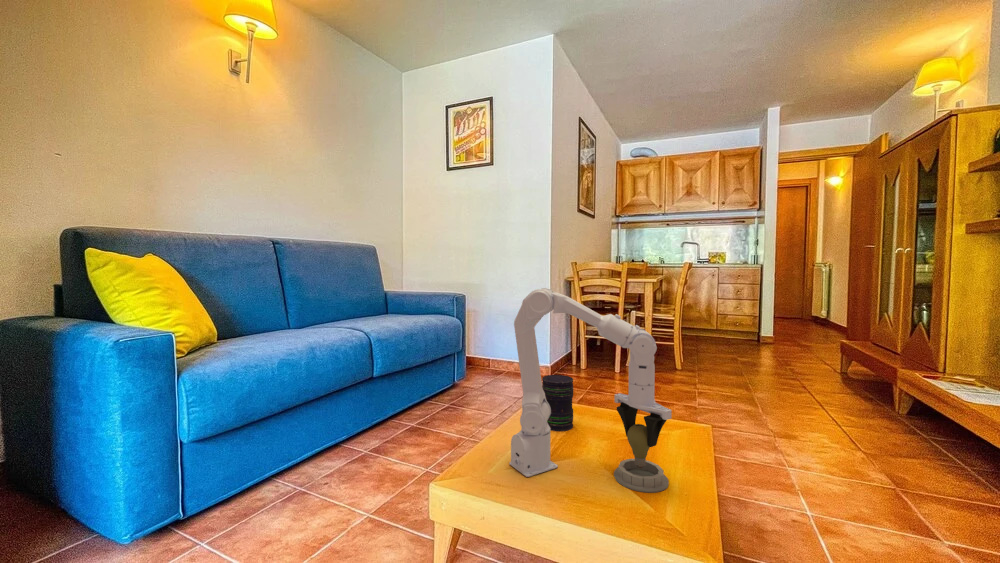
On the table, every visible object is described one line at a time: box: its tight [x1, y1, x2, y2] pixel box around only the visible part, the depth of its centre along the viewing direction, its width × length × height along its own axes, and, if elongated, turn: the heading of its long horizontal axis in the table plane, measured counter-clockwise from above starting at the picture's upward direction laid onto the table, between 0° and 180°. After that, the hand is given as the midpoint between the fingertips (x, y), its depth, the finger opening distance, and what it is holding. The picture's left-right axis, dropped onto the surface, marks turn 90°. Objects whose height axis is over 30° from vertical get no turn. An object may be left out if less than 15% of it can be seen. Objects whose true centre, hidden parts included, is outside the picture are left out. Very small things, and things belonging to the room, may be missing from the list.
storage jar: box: [541, 374, 574, 432], centre depth 126 cm, size 10×10×15 cm
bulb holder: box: [613, 458, 670, 494], centre depth 93 cm, size 12×12×2 cm
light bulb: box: [626, 423, 651, 468], centre depth 93 cm, size 6×6×10 cm
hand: (641, 440), depth 93 cm, fingers closed on light bulb, 6 cm apart
